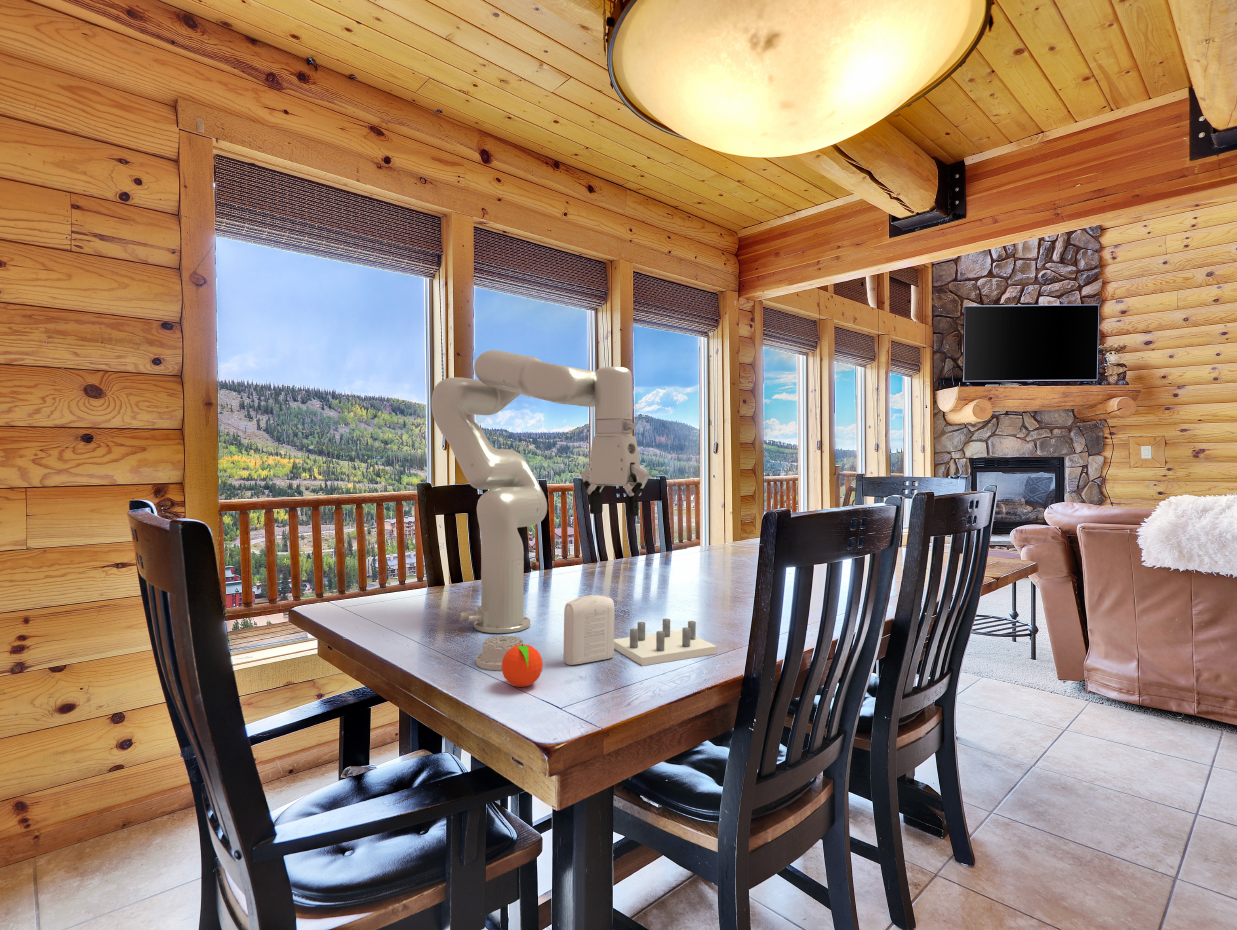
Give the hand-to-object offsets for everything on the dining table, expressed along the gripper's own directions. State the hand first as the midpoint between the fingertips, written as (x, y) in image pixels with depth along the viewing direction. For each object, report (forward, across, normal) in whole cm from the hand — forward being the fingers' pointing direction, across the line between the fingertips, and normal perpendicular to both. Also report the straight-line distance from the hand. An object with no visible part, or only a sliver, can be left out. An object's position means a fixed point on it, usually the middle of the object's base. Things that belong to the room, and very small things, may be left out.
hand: (613, 514), depth 130 cm
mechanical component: (+28, +11, +20) cm, 36 cm away
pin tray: (+28, -7, -7) cm, 29 cm away
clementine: (+28, -2, +25) cm, 37 cm away
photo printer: (+28, 0, +8) cm, 29 cm away
